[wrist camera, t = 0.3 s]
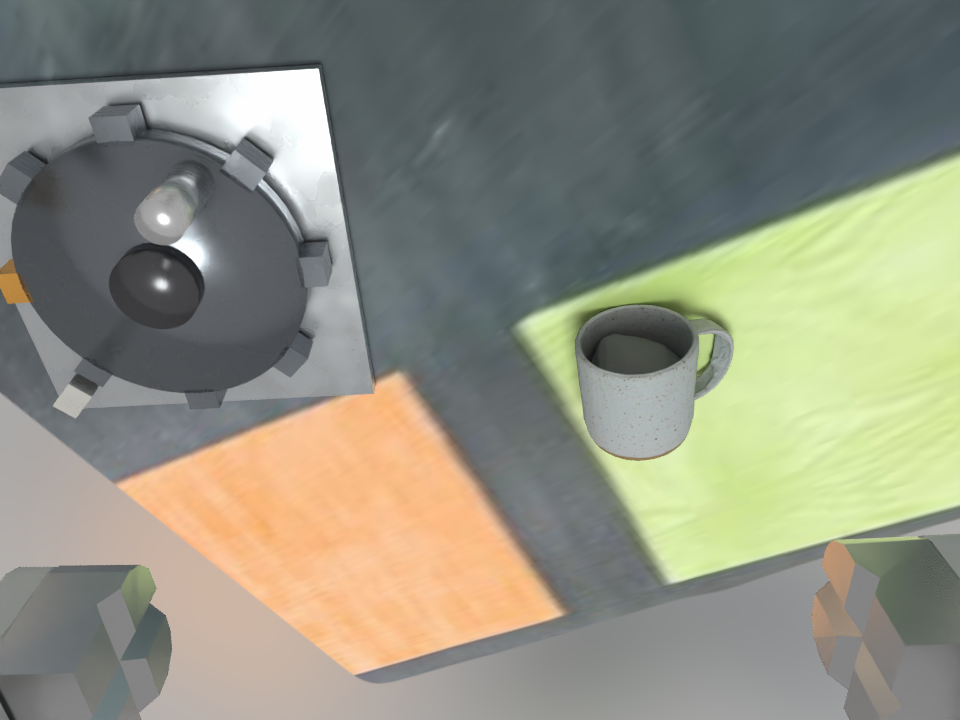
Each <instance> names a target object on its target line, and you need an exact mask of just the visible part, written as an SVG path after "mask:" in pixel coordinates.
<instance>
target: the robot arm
mask: <svg viewBox="0 0 960 720" xmlns="http://www.w3.org/2000/svg"><path fill="white" fill-rule="evenodd" d="M822 567H823V569H824V571H825V572H826V574H827V576H828V578H829V580H830V581H829V582H828V583H827V584H826V585H824V587H822V588H821V589H820V590H819V591H818V592H817V593H816V594H815V599H814V605H813V611H812V622H813V633H814V639H815V643H816V646H817V650H818V653H819V656H820V658H821V660H822V663H823V665H824V667H825V669H826V671H827V674H828V675H829V676H831V677H832V678H833V679H835V680H836V681H837V682H839V683H840V684H841V685H843V686H844V687H845V688H847V689H848V693H847V697H846V701H845V705H844V709H845V712H846V714H847V716H848V718H849V720H960V534H947V535H930V536H929V535H928V536H919V537H894V538H871V539H848V540H832V541H831V543H830V544H829V545H828V547H827V548H826V550H825V554H824V558H823V563H822ZM156 589H157V588H156V586H155V583H154V581H153V578H152V576H151V573H150V571H149V568H146V567H144V566H141V565H95V566H94V565H93V566H92V565H90V566H59V567H18V568H16V569H14V570H13V571H11V572H9V573H7V574H6V575H5V576H4V577H3V579H2V580H1V581H0V720H141V717H140V714H139V712H140V711H142V710H143V709H144V708H145V707H146V706H147V705H149V703H151V702H152V701H153V700H154V699H156V698H157V697H158V696H159V695H160V692H161V690H162V687H163V685H164V682H165V680H166V677H167V675H168V671H169V664H170V657H171V652H172V644H171V631H170V627H169V624H168V621H167V618H166V615H164V614H163V613H162V612H161V611H159V610H158V609H157V608H155V607H154V606H153V605H151V604H150V601H151V599H152V597H153V595H154V593H155V591H156Z"/></svg>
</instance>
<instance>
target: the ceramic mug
mask: <svg viewBox="0 0 960 720" xmlns="http://www.w3.org/2000/svg"><path fill="white" fill-rule="evenodd" d="M701 334H715V342H714V348H713V354H712V358H711V360H710V364H709V365H708V367H707V368H706V369H705V370H704V371H703V373H702V374H701V375H700V376H698V377H697V378H696V373H697V361H698V353H699V338H698V335H701ZM733 348H734V345H733V339H732V337H731V335H730V334H729V333H728V332H727V331H726V330H725V329H723V328H722V327H720V326H719V325H718V324H716V323H715V322H713V321H711V320H708V319H694V320H688V319H687V318H686V317H684V316H683V315H681V314H679V313H678V312H675V311H673V310H670V309H668V308H663V307H659V306H654V305H626V306H620V307H616V308H611V309H608V310H606V311H603V312H600V313H598V314H597V315H595V316H593V317H592V318H590V319H589V320H588V321H587V322H585V323H584V324H583V326H582V327H581V329H580V330H579V332H578V334H577V337H576V340H575V351H576V358H577V367H578V375H579V383H580V390H581V398H582V406H583V415H584V420H585V423H586V426H587V429H588V432H589V434H590V436H591V438H592V439H593V441H594V442H595V443H596V444H597V445H598V446H599V447H600V448H601V449H602V450H604V451H605V452H607V453H609V454H611V455H613V456H615V457H619V458H622V459H626V460H636V461H640V460H650V459H655V458H658V457H661V456H664V455H667V454H669V453H670V452H672V451H673V450H675V449H676V448H677V447H679V446H680V445H681V443H682V442H683V441H684V440H685V438H686V436H687V434H688V432H689V429H690V426H691V422H692V419H693V414H694V400H696V399H698V398H700V397H702V396H704V395H706V394H707V393H708V392H709V391H711V390H712V389H713V388H715V387H716V386H717V385H718V383H719V382H720V381H721V380H722V378H723V377H724V375H725V374H726V372H727V370H728V368H729V366H730V363H731V360H732V356H733Z"/></svg>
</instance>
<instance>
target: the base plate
mask: <svg viewBox="0 0 960 720" xmlns="http://www.w3.org/2000/svg"><path fill="white" fill-rule="evenodd" d="M134 104H140V108H141V111H142V114H143V117H144V121H145V124H146V127H147V129H153V130H161V131H168V132H173V133H177V134H181V135H185V136H189V137H192V138H194V139H197V140H200V141H202V142H205V143H208V144H210V145H212V146H214V147H216V148H218V149H220V150H222V151H224V152H226V153H228V154H229V155H231V154H232V153H233V151H234V150H235V148H236V147H237V146H238V144H239V143H240V142H241V140H242V139H243V138H245V139H246V140H247V141H249V142H250V143H251V144H253V145H254V146H255V147H257V148H258V149H259V150H261V151H262V152H263V153H265V154H266V155H267V156H269V157H270V158H271V159H273V160H274V161H273V163H272V164H271V166H270V168H269V170H268V171H267V173H266V174H265V176H264V177H263V178H262V179H263V180H264V181H265V182H266V183H267V184H268V185H269V186H270V187H271V188H272V189H273V190H274V192H275V193H276V194H277V195H278V196H279V198H280V199H281V200H282V202H283V203H284V204H285V205H286V207H287V208H288V210H289V211H290V213H291V215H292V216H293V218H294V220H295V221H296V223H297V225H298V227H299V230H300V232H301V234H302V237H303V239H304V241H305V243H306V242H324V241H327V243H328V249H329V254H330V259H331V265H332V270H333V271H332V274H331V277H330V280H329V284H328V286H323V287H311V290H310V296H309V302H308V305H307V308H306V311H305V314H304V317H303V320H302V323H301V326H300V329H299V333H301V334H302V335H304V336H305V337H307V338H308V339H310V340H311V341H313V344H312V348H311V351H310V354H309V358H308V360H307V361H306V362H305V363H304V364H303V365H302V366H301V367H300V368H299V369H298V370H297V371H296V373H295V374H294V375H293V376H292V377H291V378H290V377H288V376H287V375H285V374H284V373H282V372H280V371H279V370H277V369H276V368H274V367H272V368H270V369H269V370H268V371H266V372H265V373H263V374H262V375H260V376H259V377H257V378H255V379H253V380H251V381H249V382H247V383H244V384H242V385H239V386H236V387H233V388H229V389H227V392H226V394H225V397H224V399H223V401H237V400H257V399H277V398H296V397H316V396H336V395H356V394H374V391H375V379H374V373H373V368H372V362H371V356H370V350H369V344H368V338H367V332H366V326H365V320H364V314H363V308H362V302H361V296H360V290H359V284H358V279H357V273H356V267H355V261H354V255H353V249H352V243H351V237H350V231H349V225H348V219H347V213H346V207H345V201H344V195H343V189H342V184H341V178H340V172H339V166H338V160H337V154H336V148H335V142H334V136H333V130H332V124H331V118H330V112H329V106H328V100H327V95H326V89H325V83H324V77H323V71H322V65H321V64H313V65H297V66H281V67H265V68H248V69H232V70H216V71H200V72H183V73H167V74H151V75H135V76H118V77H102V78H86V79H70V80H53V81H37V82H21V83H4V84H0V176H1V174H2V172H3V170H4V169H5V167H6V165H7V163H9V162H10V161H11V160H13V159H14V158H15V157H17V156H18V155H20V154H21V153H22V152H24V151H27V152H28V153H30V154H31V155H33V156H34V157H36V158H37V159H39V160H40V161H42V162H43V163H45V164H46V165H47V164H48V163H50V162H51V161H52V160H53V159H55V158H56V157H57V156H58V155H60V154H61V153H62V152H64V151H65V150H67V149H68V148H70V147H71V146H73V145H74V144H76V143H78V142H80V141H82V140H85V139H87V138H89V137H91V136H94V133H93V130H92V127H91V124H90V121H89V117H90V116H91V115H93V114H94V113H95V112H97V111H98V110H99V109H101V108H102V107H103V106H117V105H134ZM16 206H17V204H15V203H13V202H12V201H10V200H9V199H7V198H6V197H4V196H2V195H1V194H0V269H1V268H2V267H3V266H4V265H5V264H6V263H7V262H8V261H9V260H10V259H13V257H12V247H11V230H12V221H13V217H14V213H15V209H16ZM15 304H16V306H17V308H18V310H19V312H20V314H21V317H22V319H23V321H24V323H25V325H26V327H27V329H28V331H29V334H30V336H31V338H32V340H33V342H34V344H35V346H36V348H37V351H38V353H39V355H40V357H41V359H42V361H43V363H44V366H45V368H46V370H47V372H48V374H49V376H50V378H51V380H52V383H53V385H54V387H55V389H56V391H57V393H58V395H59V398H58V399H57V400H56V402H55V403H54V405H53V406H54V407H55V408H57V409H59V410H61V411H63V412H65V413H67V414H68V415H70V416H72V417H74V418H76V417H77V416H78V415H79V413H80V412H81V411H82V410H83V408H99V407H119V406H138V405H158V404H178V403H188V401H187V399H186V396H185V393H177V392H167V391H161V390H156V389H151V388H147V387H144V386H140V385H137V384H134V383H131V382H128V381H126V380H123V379H121V378H118V377H116V376H113V375H112V376H111V377H110V379H109V380H108V381H107V382H106V384H105V385H104V386H103V387H101V386H99V385H97V384H95V383H94V382H92V381H90V380H88V379H87V378H85V377H83V376H81V375H80V374H78V373H76V372H74V370H75V369H76V367H77V366H78V365H79V363H80V362H81V360H82V359H83V358H82V357H81V356H79V355H78V354H77V353H75V352H74V351H73V350H72V349H70V348H69V347H68V346H66V345H65V344H64V343H63V342H62V341H61V340H60V339H59V338H58V337H57V336H56V335H55V334H54V333H53V332H52V331H51V330H50V329H49V328H48V326H47V325H46V324H45V323H44V322H43V321H42V319H41V318H40V317H39V315H38V314H37V312H36V311H35V309H34V308H33V307H32V305H31V304H30V302H28V303H15Z"/></svg>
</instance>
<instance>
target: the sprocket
mask: <svg viewBox="0 0 960 720" xmlns="http://www.w3.org/2000/svg"><path fill="white" fill-rule="evenodd" d="M89 121H90V124H91V127H92V130H93V133H94V136H91V137H89V138H87V139H85V140H82V141H80V142H78V143H76V144H74V145H73V146H71V147H70V148H68V149H67V150H65V151H64V152H62V153H61V154H60V155H58V156H57V157H56V158H55V159H53V160H52V161H51V162H50V163H48V164H47V165H46V164H45V163H43V162H42V161H40V160H39V159H37V158H36V157H34V156H33V155H31V154H30V153H28V152H27V151H24V152H22V153H21V154H20V155H18V156H17V157H15V158H14V159H13V160H11V161H10V162H9V163H7V165H6V167H5V169H4V170H3V172H2V174H1V176H0V194H1V195H2V196H4V197H6V198H7V199H9V200H10V201H12V202H13V203H15V204H17V206H16V209H15V213H14V217H13V221H12V230H11V247H12V257H13V259H10V260H9V261H8V262H7V263H6V264H5V265H4V266H3V267H2V268H1V269H0V288H1V290H2V292H3V295H4V297H5V299H6V301H7V303H8V304H10V303H28V302H30V304H31V305H32V307H33V308H34V309H35V311H36V312H37V314H38V315H39V317H40V318H41V319H42V321H43V322H44V323H45V324H46V325H47V326H48V328H49V329H50V330H51V331H52V332H53V333H54V334H55V335H56V336H57V337H58V338H59V339H60V340H61V341H62V342H63V343H64V344H65V345H66V346H68V347H69V348H70V349H72V350H73V351H74V352H75V353H77V354H78V355H79V356H81V357H82V358H83V359H82V360H81V362H80V363H79V365H78V366H77V367H76V369H75V370H74V372H76V373H78V374H80V375H81V376H83V377H85V378H87V379H88V380H90V381H92V382H94V383H95V384H97V385H99V386H101V387H103V386H104V385H105V384H106V382H107V381H108V380H109V379H110V377H111V376H112V375H113V376H116V377H118V378H121V379H123V380H126V381H128V382H131V383H134V384H137V385H140V386H144V387H147V388H151V389H156V390H161V391H167V392H177V393H185V396H186V399H187V401H188V404H189V407H190V409H206V408H220V406H221V404H222V401H223V399H224V397H225V394H226V392H227V389H229V388H233V387H236V386H239V385H242V384H244V383H247V382H249V381H251V380H253V379H255V378H257V377H259V376H260V375H262V374H263V373H265V372H266V371H268V370H269V369H270V368H272V367H274V368H276V369H277V370H279V371H280V372H282V373H284V374H285V375H287V376H288V377H290V378H291V377H292V376H293V375H294V374H295V373H296V371H297V370H298V369H299V368H300V367H301V366H302V365H303V364H304V363H305V362H306V361H307V360H308V358H309V354H310V351H311V348H312V344H313V341H311V340H310V339H308V338H307V337H305V336H304V335H302V334H301V333H299V329H300V326H301V323H302V320H303V317H304V314H305V311H306V308H307V305H308V302H309V296H310V290H311V287H323V286H328V284H329V280H330V277H331V274H332V271H333V270H332V265H331V259H330V254H329V249H328V243H327V241H324V242H306V243H305V241H304V239H303V237H302V234H301V232H300V230H299V227H298V225H297V223H296V221H295V220H294V218H293V216H292V215H291V213H290V211H289V210H288V208H287V207H286V205H285V204H284V203H283V202H282V200H281V199H280V198H279V196H278V195H277V194H276V193H275V192H274V190H273V189H272V188H271V187H270V186H269V185H268V184H267V183H266V182H265V181H264V180H263V179H262V178H263V177H264V176H265V174H266V173H267V171H268V170H269V168H270V166H271V164H272V163H273V161H274V160H273V159H271V158H270V157H269V156H267V155H266V154H265V153H263V152H262V151H261V150H259V149H258V148H257V147H255V146H254V145H253V144H251V143H250V142H249V141H247V140H246V139H245V138H243V139H242V140H241V142H240V143H239V144H238V146H237V147H236V148H235V150H234V151H233V153H232V154H231V155H229V154H228V153H226V152H224V151H222V150H220V149H218V148H216V147H214V146H212V145H210V144H208V143H205V142H202V141H200V140H197V139H194V138H192V137H189V136H185V135H181V134H177V133H173V132H168V131H161V130H153V129H147V127H146V124H145V121H144V117H143V114H142V111H141V108H140V104H134V105H117V106H103V107H102V108H101V109H99V110H98V111H97V112H95V113H94V114H93V115H91V116H90V117H89Z"/></svg>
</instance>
